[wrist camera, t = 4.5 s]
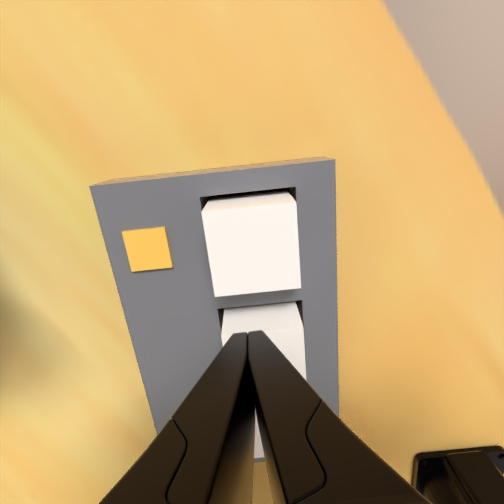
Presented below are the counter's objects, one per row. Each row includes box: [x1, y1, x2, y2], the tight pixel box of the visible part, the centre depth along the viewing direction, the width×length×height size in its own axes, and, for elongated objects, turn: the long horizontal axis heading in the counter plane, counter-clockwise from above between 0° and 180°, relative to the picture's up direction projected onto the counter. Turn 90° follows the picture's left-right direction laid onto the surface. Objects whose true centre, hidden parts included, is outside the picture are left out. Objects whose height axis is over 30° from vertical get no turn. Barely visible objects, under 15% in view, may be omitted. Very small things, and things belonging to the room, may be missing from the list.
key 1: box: [201, 191, 301, 297], centre depth 15 cm, size 4×4×3 cm
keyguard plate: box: [89, 157, 339, 462], centre depth 18 cm, size 18×11×3 cm, turn 6°
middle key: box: [221, 301, 306, 380], centre depth 17 cm, size 4×4×3 cm
